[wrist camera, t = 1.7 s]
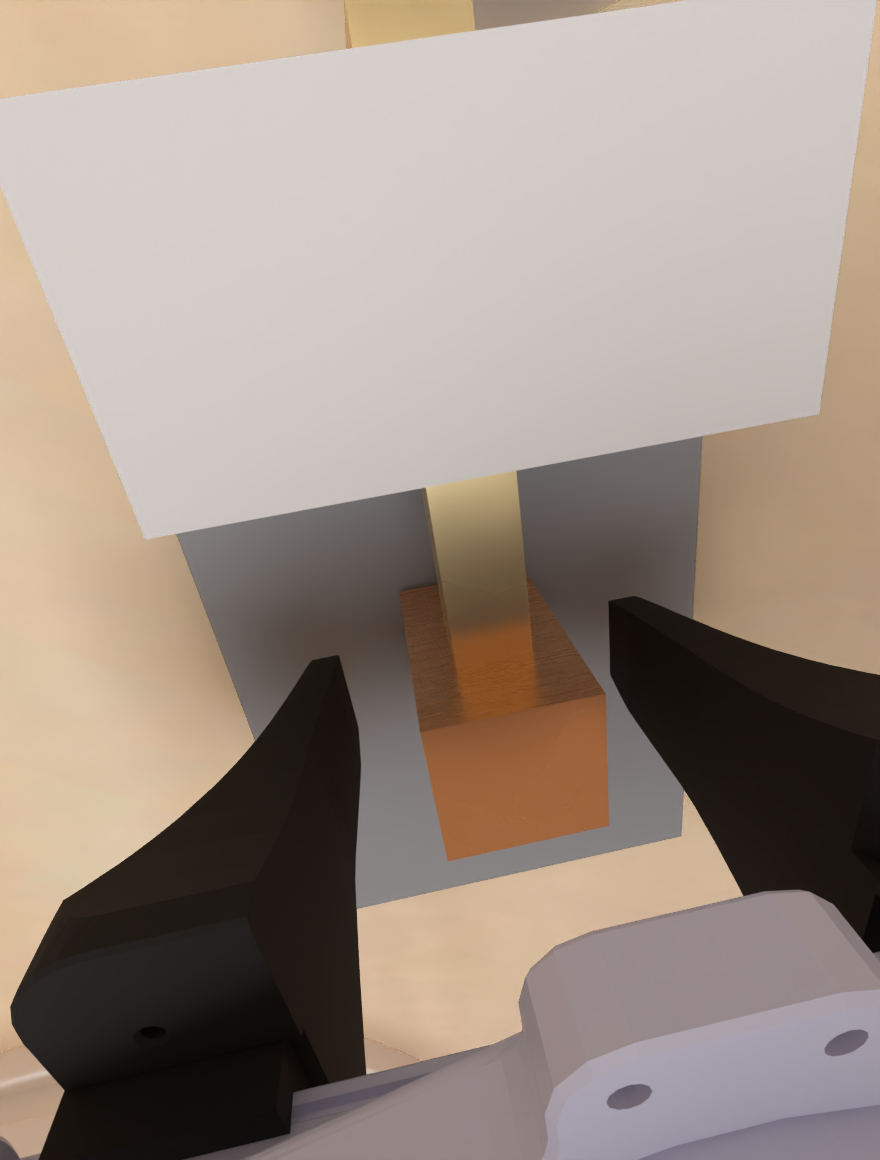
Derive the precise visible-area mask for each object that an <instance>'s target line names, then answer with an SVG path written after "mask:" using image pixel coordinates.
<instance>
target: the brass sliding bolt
mask: <svg viewBox="0 0 880 1160" xmlns="http://www.w3.org/2000/svg"><path fill="white" fill-rule="evenodd" d="M344 10H345V33H346V49H351V48H358V47H365V46H372V45H379V44H385V43H392V42H399V41H406V40H413V39H420V38H427V37H434V36H441V35H448V34H455V33H462V32H469V31H475V23H474V12H473V2H472V0H344ZM421 491H422V497H423V502H424V508H425V514H426V520H427V526H428V532H429V538H430V543H431V549H432V555H433V561H434V567H435V573H436V578H437V585H432V586H427V587H422V588H417V589H412V590H406V591H401V592H399V595H400V601H401V608H402V615H403V621H404V628H405V635H406V641H407V648H408V655H409V662H410V668H411V675H412V682H413V688H414V695H415V702H416V708H417V715H418V722H419V728H420V734H421V739H422V744H423V748H424V753H425V758H426V762H427V767H428V772H429V776H430V781H431V786H432V791H433V795H434V800H435V805H436V809H437V814H438V819H439V823H440V828H441V833H442V837H443V842H444V847H445V851H446V856H447V861H453V860H457V859H462V858H466V857H471V856H475V855H480V854H484V853H489V852H493V851H498V850H502V849H507V848H511V847H516V846H520V845H525V844H529V843H534V842H538V841H543V840H547V839H552V838H556V837H561V836H565V835H570V834H574V833H579V832H583V831H588V830H592V829H597V828H601V827H606V826H609V797H608V761H607V725H606V694H605V692H604V690H603V689H602V687H601V686H600V684H599V683H598V681H597V680H596V678H595V677H594V675H593V674H592V672H591V671H590V669H589V668H588V666H587V664H586V663H585V661H584V660H583V658H582V657H581V655H580V654H579V652H578V651H577V649H576V648H575V646H574V645H573V643H572V642H571V640H570V638H569V637H568V635H567V634H566V632H565V631H564V629H563V628H562V626H561V625H560V623H559V622H558V620H557V619H556V617H555V616H554V614H553V612H552V611H551V609H550V608H549V606H548V605H547V603H546V602H545V600H544V599H543V597H542V596H541V594H540V593H539V591H538V590H537V588H536V586H535V585H534V583H533V582H532V580H531V579H530V577H529V576H528V574H527V573H526V569H525V559H524V548H523V537H522V526H521V516H520V505H519V494H518V484H517V473H516V471H512V472H506V473H501V474H495V475H490V476H485V477H479V478H474V479H469V480H463V481H458V482H452V483H447V484H442V485H436V486H431V487H425V488H421Z"/></svg>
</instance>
